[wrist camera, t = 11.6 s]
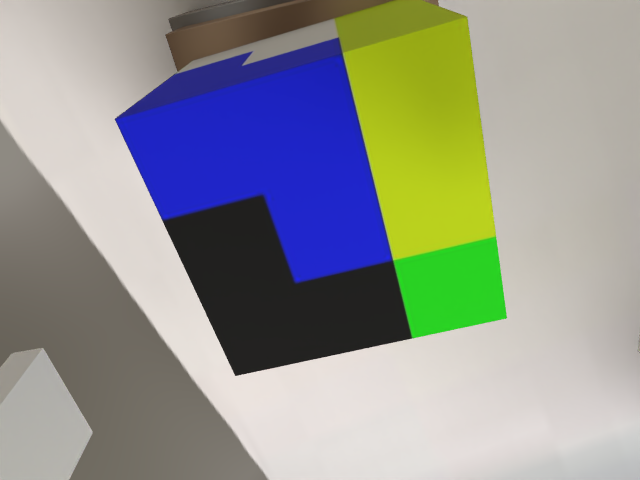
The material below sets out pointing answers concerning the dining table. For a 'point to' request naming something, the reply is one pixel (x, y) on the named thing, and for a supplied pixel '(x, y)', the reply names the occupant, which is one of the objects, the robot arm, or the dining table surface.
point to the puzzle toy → (327, 185)
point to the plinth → (250, 23)
